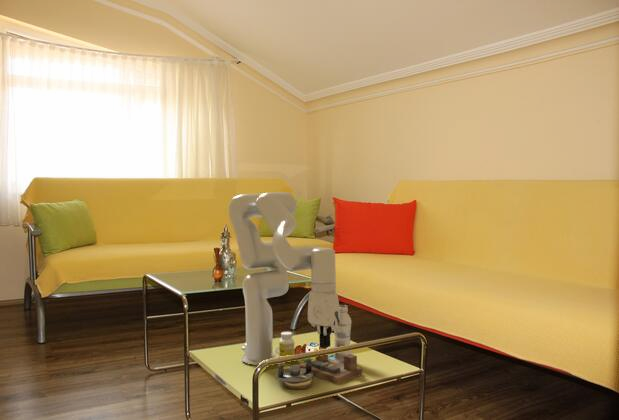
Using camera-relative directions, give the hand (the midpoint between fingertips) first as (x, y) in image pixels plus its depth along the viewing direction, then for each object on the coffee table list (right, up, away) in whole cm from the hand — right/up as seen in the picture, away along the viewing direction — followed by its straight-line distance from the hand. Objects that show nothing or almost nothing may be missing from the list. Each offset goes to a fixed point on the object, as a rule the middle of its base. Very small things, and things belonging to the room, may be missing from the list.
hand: (325, 346), depth 165 cm
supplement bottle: (-13, -12, +27) cm, 32 cm away
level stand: (+2, -12, +13) cm, 18 cm away
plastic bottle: (+7, -12, +24) cm, 27 cm away
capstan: (-9, -12, +3) cm, 16 cm away
